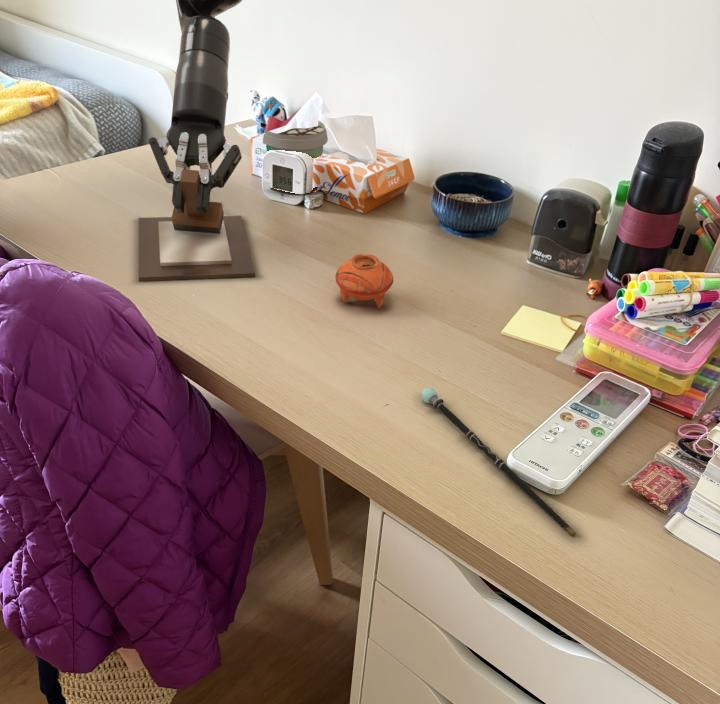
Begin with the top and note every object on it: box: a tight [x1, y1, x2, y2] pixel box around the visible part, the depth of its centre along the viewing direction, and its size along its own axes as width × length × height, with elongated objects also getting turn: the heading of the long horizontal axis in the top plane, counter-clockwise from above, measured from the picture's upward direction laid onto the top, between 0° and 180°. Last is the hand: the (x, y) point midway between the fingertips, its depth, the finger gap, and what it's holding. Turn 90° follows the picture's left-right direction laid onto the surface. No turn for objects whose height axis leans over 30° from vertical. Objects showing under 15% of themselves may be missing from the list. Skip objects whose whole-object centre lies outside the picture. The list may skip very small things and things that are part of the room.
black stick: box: [421, 387, 576, 537], centre depth 76 cm, size 2×25×2 cm
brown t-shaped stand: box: [171, 169, 225, 234], centre depth 105 cm, size 7×4×9 cm, turn 88°
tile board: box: [138, 215, 256, 282], centre depth 107 cm, size 16×20×1 cm
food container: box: [262, 120, 329, 196], centre depth 124 cm, size 12×6×10 cm, turn 129°
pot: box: [334, 253, 394, 309], centre depth 98 cm, size 8×8×7 cm
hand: (190, 211), depth 103 cm, fingers closed on brown t-shaped stand, 2 cm apart
